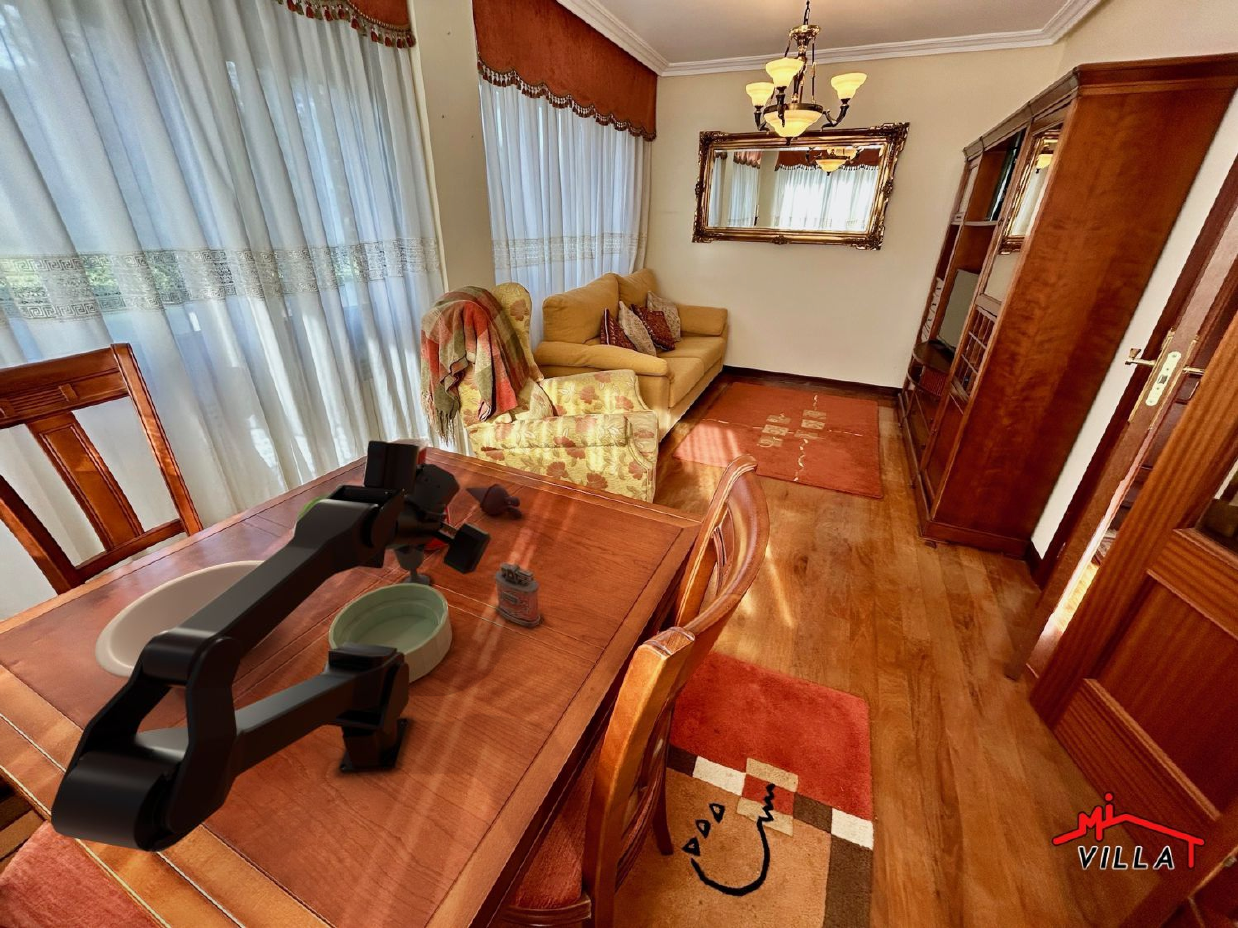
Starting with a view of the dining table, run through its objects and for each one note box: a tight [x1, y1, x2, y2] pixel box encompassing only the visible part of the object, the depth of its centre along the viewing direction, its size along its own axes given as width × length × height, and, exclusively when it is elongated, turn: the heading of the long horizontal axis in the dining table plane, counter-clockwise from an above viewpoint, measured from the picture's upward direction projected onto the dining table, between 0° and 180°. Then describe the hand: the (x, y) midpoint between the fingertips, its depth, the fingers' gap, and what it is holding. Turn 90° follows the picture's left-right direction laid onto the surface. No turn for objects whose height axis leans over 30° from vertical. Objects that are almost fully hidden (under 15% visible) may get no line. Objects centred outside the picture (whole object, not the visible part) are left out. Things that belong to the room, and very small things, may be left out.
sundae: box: [392, 548, 431, 586], centre depth 87 cm, size 7×7×15 cm
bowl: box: [328, 582, 453, 684], centre depth 76 cm, size 16×16×6 cm
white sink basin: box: [94, 559, 278, 680], centre depth 75 cm, size 24×24×7 cm
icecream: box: [465, 483, 523, 519], centre depth 111 cm, size 7×7×15 cm
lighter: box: [494, 562, 541, 628], centre depth 82 cm, size 8×3×10 cm, turn 62°
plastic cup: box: [388, 437, 429, 465], centre depth 118 cm, size 11×11×12 cm
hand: (449, 523), depth 79 cm, fingers open, 9 cm apart
